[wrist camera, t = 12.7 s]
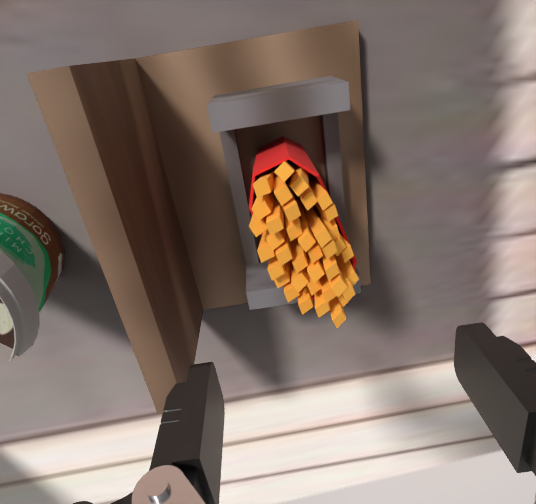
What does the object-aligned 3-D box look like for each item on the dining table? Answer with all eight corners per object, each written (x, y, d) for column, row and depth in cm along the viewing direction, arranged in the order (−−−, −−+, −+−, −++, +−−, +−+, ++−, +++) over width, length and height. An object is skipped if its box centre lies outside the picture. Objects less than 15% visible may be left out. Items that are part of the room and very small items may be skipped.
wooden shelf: (178, 304, 37) (148, 415, 26) (106, 63, 28) (12, 75, 17) (366, 275, 37) (417, 376, 25) (352, 21, 28) (422, 4, 16)
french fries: (336, 219, 32) (385, 316, 21) (287, 241, 33) (307, 347, 22) (288, 109, 29) (315, 153, 17) (233, 137, 29) (223, 197, 18)
